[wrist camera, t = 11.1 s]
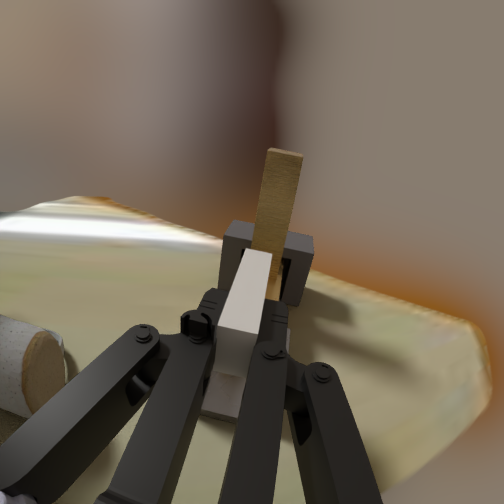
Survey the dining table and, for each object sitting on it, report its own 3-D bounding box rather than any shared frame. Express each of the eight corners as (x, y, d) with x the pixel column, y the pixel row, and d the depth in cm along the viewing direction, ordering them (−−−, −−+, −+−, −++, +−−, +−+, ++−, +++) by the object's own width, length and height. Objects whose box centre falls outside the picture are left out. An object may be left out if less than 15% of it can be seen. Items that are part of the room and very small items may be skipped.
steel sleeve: (181, 408, 19) (179, 380, 17) (208, 342, 26) (211, 311, 24) (270, 430, 18) (283, 405, 16) (280, 358, 25) (290, 328, 23)
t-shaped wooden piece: (221, 347, 24) (248, 157, 16) (248, 270, 36) (270, 143, 29) (265, 357, 23) (313, 170, 16) (278, 276, 36) (306, 151, 29)
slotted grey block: (217, 288, 34) (223, 234, 31) (227, 268, 38) (233, 219, 35) (298, 306, 33) (314, 253, 30) (299, 284, 38) (312, 236, 34)
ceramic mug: (59, 441, 13) (13, 381, 9) (-16, 413, 11) (-62, 349, 7) (84, 345, 22) (66, 277, 18) (20, 333, 20) (-3, 269, 17)
